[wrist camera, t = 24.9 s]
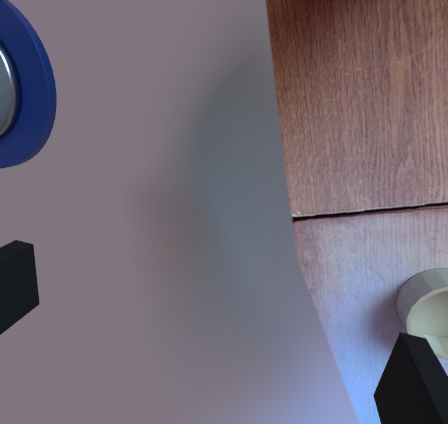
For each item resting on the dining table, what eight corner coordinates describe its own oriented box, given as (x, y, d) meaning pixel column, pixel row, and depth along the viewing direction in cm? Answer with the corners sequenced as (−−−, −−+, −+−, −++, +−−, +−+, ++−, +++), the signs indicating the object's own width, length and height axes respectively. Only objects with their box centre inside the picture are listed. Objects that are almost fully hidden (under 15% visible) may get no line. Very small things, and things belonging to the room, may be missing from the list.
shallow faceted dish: (385, 325, 40) (395, 347, 37) (410, 260, 37) (423, 277, 33) (467, 344, 39) (485, 369, 35) (501, 278, 36) (525, 298, 32)
